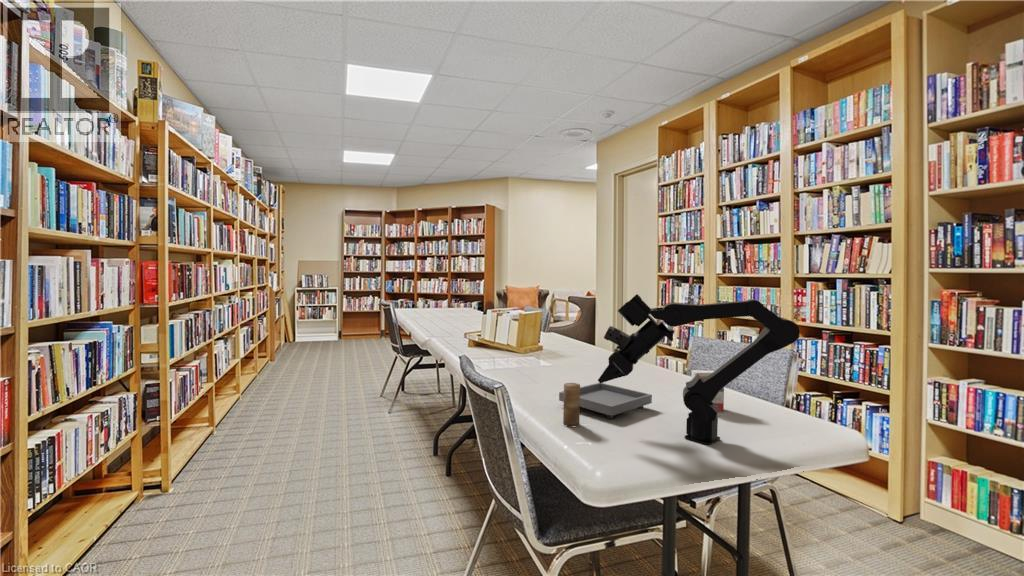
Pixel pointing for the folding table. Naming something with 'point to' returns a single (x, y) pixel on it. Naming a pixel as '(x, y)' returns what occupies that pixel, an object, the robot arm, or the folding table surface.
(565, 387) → the walnut part
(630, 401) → the parts tray
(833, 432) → the folding table surface
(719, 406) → the ink box
